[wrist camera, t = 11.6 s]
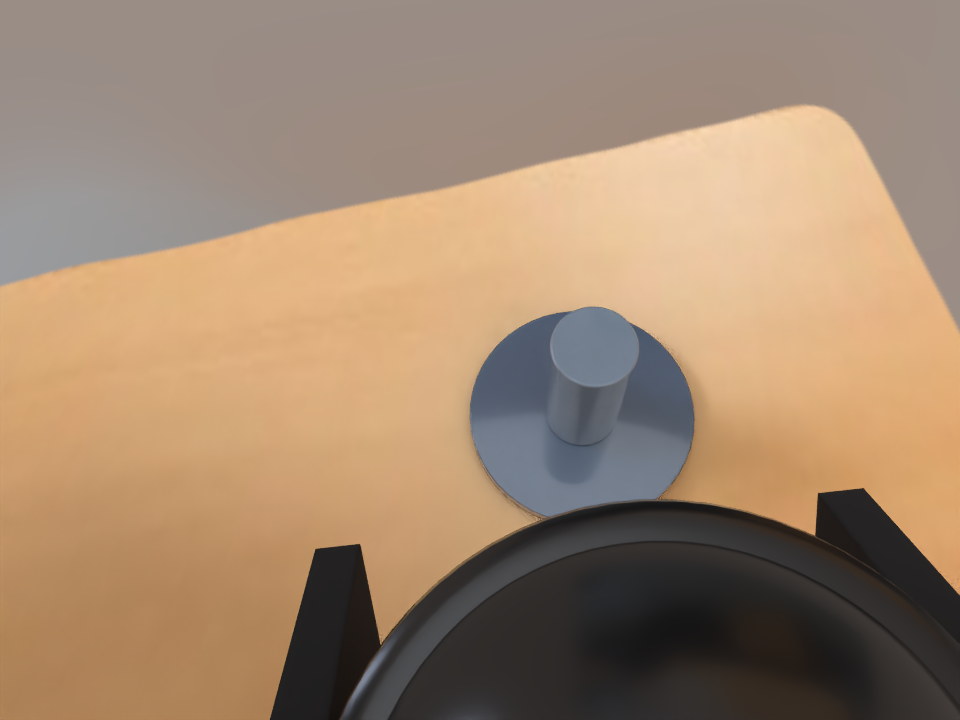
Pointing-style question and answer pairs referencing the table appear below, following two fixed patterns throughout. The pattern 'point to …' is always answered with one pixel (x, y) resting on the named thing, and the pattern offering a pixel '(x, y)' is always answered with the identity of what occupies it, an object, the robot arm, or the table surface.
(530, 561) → the drinking cup
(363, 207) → the table surface
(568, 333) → the lid
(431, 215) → the table surface
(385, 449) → the table surface
